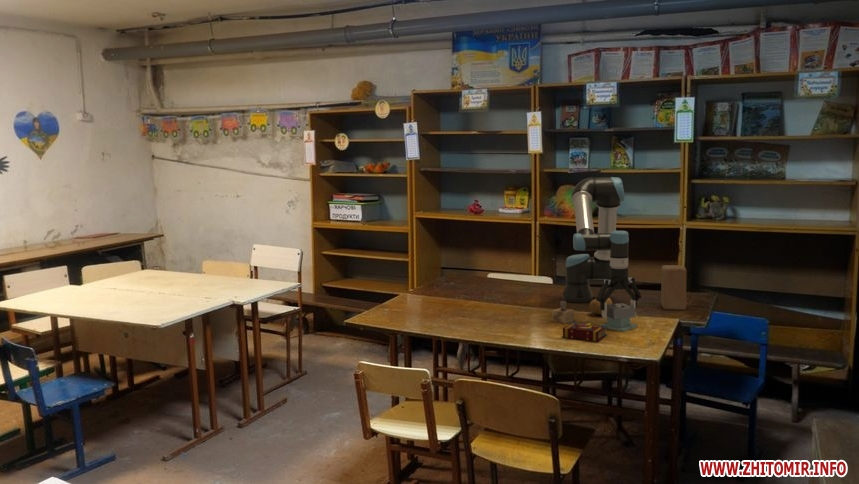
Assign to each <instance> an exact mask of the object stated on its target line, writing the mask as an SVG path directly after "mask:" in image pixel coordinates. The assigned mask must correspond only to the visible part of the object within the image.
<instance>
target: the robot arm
mask: <svg viewBox="0 0 859 484" xmlns="http://www.w3.org/2000/svg"><path fill="white" fill-rule="evenodd" d="M624 201H625V191H624V184H623V180H622V179H621V178H620V177H615V176H614V177H613V176H611V177H610V176H608V177H588V178H584V179H581V181H579V182H578V183H577V184H576V185H575V186H574V188H573V190H572V193H571V204H572V205H574V216H575V217H574V218H575V226H576V233H574V234H573V237H572V243H573V246H572V247H573V250H575V251H583V252H584V251H587V252H588V251H590V252H591V251H595V252H594V253H593V256H590V254H588V253H580V254H572V255H570V256H568V257H567V258H566V260H565V287H564V290H563V293H562V301H566V303H576V304H577V303H579V304H580V303H583V304H584V303H590V302H591V301H593V300H594V299H593V297H594V295H593V292H592V290H591V287H590V281H597V280H598V281H602V284H601V287H600V290H599V291H598V294H597V296H596V298H595V299H596V301H599V302H600V309H601V310H602V315H601V317H602V318H603V319H607V303H605V302H606V300H607V299H608V298H610V296H611V295H612V294H613V292H614V291H615V290H624V291H626V293H627V295H629V296H630V298H631V299H630V303H629V306H632V307H634V308H637V307H638V301H639V300H640V299H642V295H641V292H640V291H639V289H638V286H637V284H636V279H635V277H631V276H630V277H628V276H629V268H628V267H629V243H630V242H629V241H630V238H629V232H628V231H626V230H617V216H618V208H619V207H620V206H621V203H623V202H624ZM592 202H593V203H594V202H595V206H596V207H597V208H598V220H597V221H598V222H597V225H598V226H597V233H595V230H594V229H595V228H594V221H593V213H592V204H591V203H592ZM628 283H629V285H630V286H629V285H628ZM630 287H631V288H630ZM631 289H632V290H631Z"/></svg>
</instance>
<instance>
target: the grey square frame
mask: <svg viewBox="0 0 859 484" xmlns="http://www.w3.org/2000/svg"><path fill="white" fill-rule="evenodd" d="M616 304H617V303H612V304H608V305H607V316H608V317H610V318H612V319H622V318H630V319H632V318H636V308H637V307H635V308H634V307H632V306H630V304H629V305H628V304H626V303H624V302H622V303H621V302H620V303H619V304H622V308H616Z"/></svg>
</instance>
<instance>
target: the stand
mask: <svg viewBox="0 0 859 484" xmlns="http://www.w3.org/2000/svg"><path fill="white" fill-rule="evenodd" d="M551 312H552V317H551V318H552V321H551V322H554V323H559V322H560V324H564V323H565V324H566V325H567V324H568V323H569V324H570V323H571V322H575V309H572V308H567V301H564V300H560V307H559V308H556V309H552V311H551Z"/></svg>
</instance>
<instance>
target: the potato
mask: <svg viewBox="0 0 859 484" xmlns="http://www.w3.org/2000/svg"><path fill="white" fill-rule="evenodd" d="M605 303H607V305H608V304H613V301H612V299H611V298H610V297H609V298H608V299H607V300H606V302H605ZM589 311H591V312H592V313H593V314H595V315H601V316H602V310H601V309H600V302H599V301H596V298H595V299H593V300H592V301H590V302H589Z"/></svg>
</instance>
